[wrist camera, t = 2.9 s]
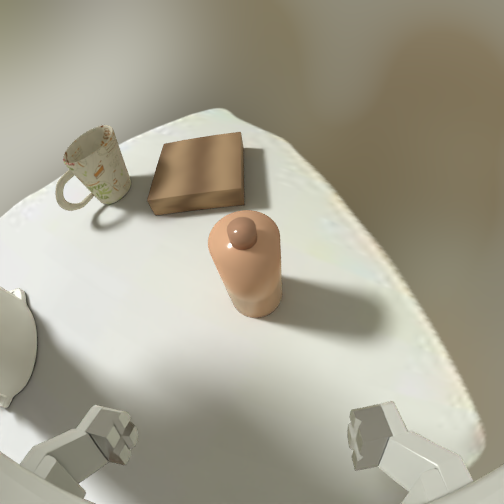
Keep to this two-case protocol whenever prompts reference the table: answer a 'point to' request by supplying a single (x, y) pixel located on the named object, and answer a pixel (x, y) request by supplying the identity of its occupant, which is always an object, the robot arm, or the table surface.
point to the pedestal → (199, 175)
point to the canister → (248, 261)
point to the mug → (95, 168)
